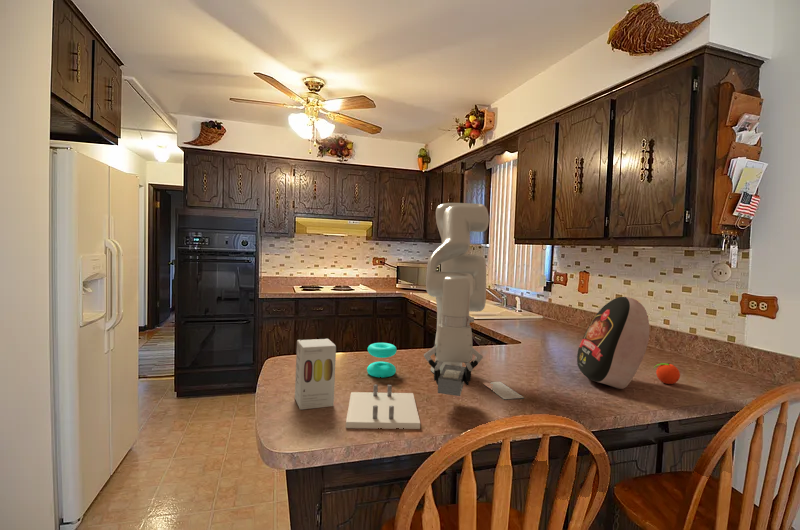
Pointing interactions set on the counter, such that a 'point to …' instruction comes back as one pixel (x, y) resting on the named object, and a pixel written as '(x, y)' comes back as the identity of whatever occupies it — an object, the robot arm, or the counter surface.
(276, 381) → the counter surface
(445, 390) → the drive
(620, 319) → the packaged food
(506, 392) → the smartphone
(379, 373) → the donuts
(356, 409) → the white peg board
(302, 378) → the supplement box
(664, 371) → the clementine
